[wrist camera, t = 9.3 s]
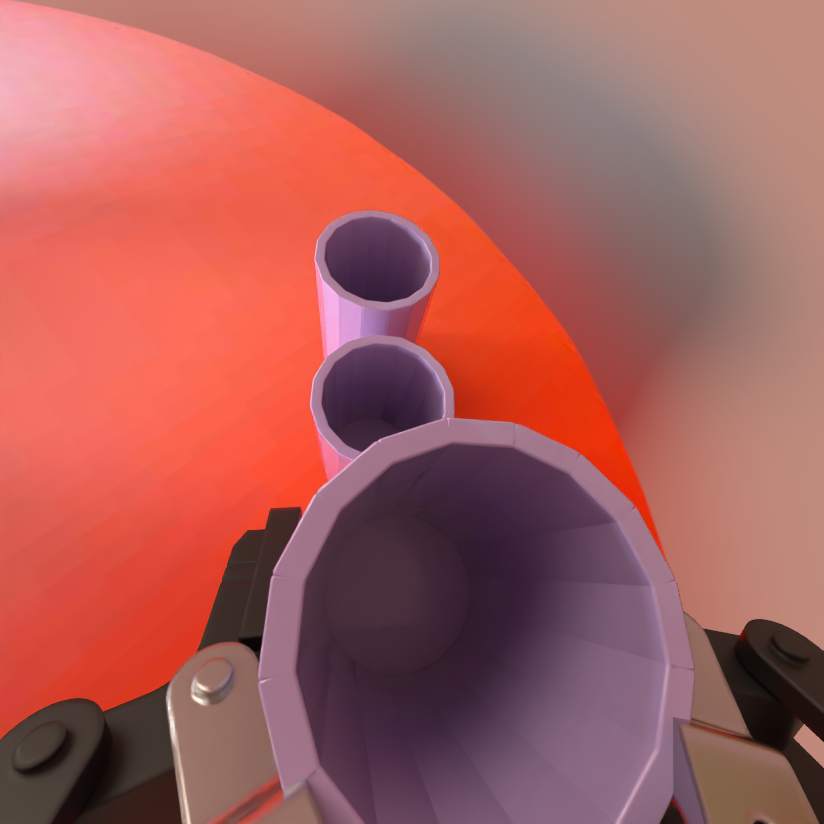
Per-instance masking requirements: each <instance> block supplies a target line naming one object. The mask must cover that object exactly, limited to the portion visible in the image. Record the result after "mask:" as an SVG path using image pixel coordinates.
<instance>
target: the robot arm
mask: <svg viewBox="0 0 824 824" xmlns="http://www.w3.org/2000/svg"><path fill="white" fill-rule="evenodd" d="M301 518H302V510H301V507H289V508H271V509H270V512H269V516H268V520H267V524H266V528H265V530H248V531H247V532H246V533H245V534H244V535H243V536H242V537H241V538H240V539H239V540H238V542H237V543H236V544H235V545H234V546H233V549H232V552H231V555H230V557H229V560H228V563H227V568H226V569H225V572H224V575H223V578H222V583H221V584H220V587H219V590H218V593H217V596H216V599H215V602H214V605H213V608H212V611H211V614H210V617H209V620H208V623H207V626H206V629H205V632H204V634H203V637H202V640H201V643H200V646H199V648H198V650H197V652H196V654H194V655H193V656H191V657H190V658H189V659H188V660H187V661H186V662H185V663H184V664H183V665H182V666H181V667H180V668H179V669H178V671H177V672H176V673H175V675H174V676H173V678H172V680H171V681H169V682H168V683H166V684H165V685H163V686H162V687H160V688H158V689H156V690H154V691H152V692H150V693H148V694H146V695H143V696H141V697H138V698H136V699H133V700H131V701H128V702H126V703H124V704H121V705H119V706H116V707H114V708H111V709H109V710H106V711H104V712H102V709H101V708H100V707H99V705H98V704H96V703H95V702H94V701H91V700H88V699H82V698H76V699H68V700H64V701H60V702H57V703H54V704H51V705H49V706H47V707H45V708H43V709H41V710H39V711H37V712H35V713H34V714H32V715H30V716H29V717H27V718H26V719H25V720H23V721H22V722H20V723H19V724H18V725H16V726H15V727H14V728H13V729H12V730H10V731H9V732H8V733H7V734H6V735H5V736H4V737H3V738H2V739H1V740H0V824H323V821H322V818H321V816H320V813H319V810H318V807H317V805H316V802H315V799H314V797H313V794H312V792H311V789H310V787H309V784H308V782H307V780H306V778H305V779H302V780H300V781H298V782H296V783H294V784H292V785H290V786H288V787H286V788H283V789H282V787H281V784H280V779H279V775H278V771H277V766H276V762H275V758H274V753H273V749H272V745H271V741H270V736H269V732H268V728H267V723H266V719H265V715H264V710H263V706H262V702H261V697H260V693H259V689H258V682H259V679H258V676H257V675H258V668H259V660H260V653H261V646H262V638H263V631H264V624H265V616H266V609H267V602H268V594H269V587H270V580H271V577H272V575H274V574H273V570H274V568H275V566H276V564H277V562H278V561H279V559H280V557H281V555H282V553H283V551H284V549H285V547H286V546H287V544H288V542H289V540H290V538H291V536H292V534H293V533H294V531H295V529H296V527H297V525H298V523H299V521H300V520H301ZM683 613H684V617H685V622H686V627H687V632H688V636H689V641H690V646H691V651H692V655H693V660H694V665H695V670H693V671H694V672H695V685H694V695H693V705H692V715H691V720H686V719H681V718H676V717H673V798H672V800H671V802H670V804H669V806H668V808H667V810H666V812H665V814H664V816H663V818H662V820H661V822H660V824H824V768H823V767H822V766H821V765H820V764H819V763H818V762H817V761H816V760H815V759H814V758H813V757H812V756H811V755H810V754H809V753H808V752H807V751H806V750H805V749H804V748H803V747H802V746H801V745H800V744H799V743H798V742H797V741H796V740H795V739H794V738H793V737H794V736H795V735H796V734H797V732H798V731H799V730H800V728H801V727H802V726H803V724H805V725H806V726H807V727H808V728H809V729H810V730H811V731H812V732H814V733H815V734H816V735H817V736H818V737H819V738H820V739H821V740H822V741H823V742H824V651H823V650H821V649H820V648H819V647H818V646H816V645H815V644H814V643H813V642H811V641H810V640H808V639H807V638H806V637H804V636H802V635H801V634H799V633H798V632H796V631H794V630H792V629H790V628H788V627H786V626H784V625H782V624H779V623H776V622H773V621H769V620H763V619H756V620H751V621H749V622H748V623H747V624H746V626H745V628H744V630H743V631H742V633H741V635H740V636H739V635H734V634H729V633H724V632H719V631H713V630H708V629H703V628H701V626H700V625H699V624H698V623H697V622H696V621H695V620H694V619H693V618H692V617H691V616H689V615H688V614H687V613H686V612H684V611H683Z"/></svg>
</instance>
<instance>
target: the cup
mask: <svg viewBox="0 0 824 824" xmlns="http://www.w3.org/2000/svg"><path fill="white" fill-rule="evenodd" d="M315 269H316V280H317V291H318V301H319V312H320V322H321V333H322V343H323V354H324V360H325V359H326V357H327V356H328V355H330V354H331V353H332V352H334V351H335V350H337V349H338V348H339V347H341V346H342V345H344V344H345V343H347V342H349V341H351V340H355V339H359V338H363V337H367V336H371V335H383V336H393V337H400V338H403V339H405V340H408V341H410V342H412V343H414V344H416V345H417V343H418V340H419V336H420V333H421V330H422V327H423V324H424V321H425V318H426V315H427V312H428V309H429V306H430V303H431V300H432V297H433V294H434V291H435V288H436V285H437V281H438V278H439V275H440V266H439V254H438V252H437V250H436V248H435V246H434V244H433V242H432V240H431V238H430V237H429V236H428V235H427V234H426V233H425V232H424V231H422V230H421V229H420V228H419V227H418V226H417V225H416V224H415V223H413V222H411V221H409V220H407V219H405V218H403V217H400V216H398V215H396V214H393V213H388V212H381V211H374V210H366V211H360V212H354V213H348V214H346V215H344V216H342V217H340V218H339V219H337V220H335V221H333V222H331V223H330V224H329V225H328V226H327V227H326V229H325V230H324V231H323V233H322V234H321V235H320V237H319V238H318V240H317V244H316V252H315Z"/></svg>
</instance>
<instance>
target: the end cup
mask: <svg viewBox="0 0 824 824" xmlns="http://www.w3.org/2000/svg"><path fill="white" fill-rule="evenodd" d="M273 574H274V575H272V577H271V580H270V587H269V594H268V602H267V609H266V616H265V624H264V631H263V638H262V646H261V653H260V660H259V668H258V675H257V676H258V679H259V682H258V689H259V693H260V697H261V702H262V706H263V710H264V715H265V719H266V723H267V728H268V732H269V736H270V741H271V745H272V749H273V753H274V758H275V762H276V766H277V771H278V775H279V779H280V784H281V787H282V789H283V788H286V787H288V786H290V785H292V784H294V783H296V782H298V781H300V780H302V779H305V778H306V780H307V782H308V784H309V787H310V789H311V792H312V794H313V797H314V799H315V802H316V805H317V807H318V810H319V813H320V816H321V818H322V821H323V824H660V822H661V820H662V818H663V816H664V814H665V812H666V810H667V808H668V806H669V804H670V802H671V800H672V798H673V717H676V718H681V719H686V720H691V715H692V705H693V695H694V685H695V672H694V671H693V670H695V665H694V660H693V655H692V651H691V646H690V641H689V636H688V632H687V627H686V622H685V617H684V613H683V608H682V603H681V599H680V594H679V589H678V584H677V583H676V582H675V581H674V580H675V577H674V575H673V573H672V571H671V569H670V567H669V566H668V564H667V562H666V560H665V558H664V556H663V555H662V553H661V551H660V549H659V547H658V545H657V544H656V542H655V540H654V538H653V536H652V534H651V533H650V531H649V529H648V527H647V525H646V524H645V522H644V520H643V518H642V516H641V514H640V513H639V511H638V509H637V508H634V504H633V503H632V502H631V501H630V500H629V499H628V498H627V497H626V496H625V495H624V494H623V493H622V492H621V491H620V490H619V489H618V488H617V487H615V486H614V485H613V484H612V483H611V482H610V481H609V480H608V479H607V478H606V477H605V476H604V475H603V474H602V473H601V472H600V471H599V470H598V469H597V468H596V467H595V466H594V465H593V464H592V463H591V462H590V461H589V460H588V459H586V458H585V457H584V456H583V455H582V454H579V452H578V451H575V450H573V449H571V448H569V447H567V446H565V445H563V444H561V443H558V442H556V441H554V440H552V439H550V438H548V437H546V436H544V435H541V434H539V433H537V432H535V431H533V430H531V429H529V428H527V427H524V426H522V425H520V424H515V423H513V422H501V421H488V420H475V419H462V418H447V419H446V418H442V419H439V420H436V421H433V422H430V423H427V424H424V425H421V426H417V427H414V428H411V429H408V430H405V431H402V432H399V433H396V434H393V435H390V436H387V437H384V438H380V439H379V440H378V441H376V442H374V443H372V444H371V445H370V446H369V447H368V448H367V449H365V450H364V451H363V452H362V453H361V454H360V455H358V456H357V457H356V458H355V459H354V460H352V461H351V462H350V463H349V464H348V465H347V466H345V467H344V468H343V469H342V470H341V471H339V472H338V473H337V474H336V475H335V476H334V477H332V478H331V479H330V480H329V481H328V482H327V483H325V484H324V485H323V486H322V487H321V488H319V489H318V491H317V493H316V494H314V495H313V497H312V499H311V501H310V503H309V505H308V507H307V508H306V510H305V512H304V514H303V516H302V518H301V520H300V521H299V523H298V525H297V527H296V529H295V531H294V533H293V534H292V536H291V538H290V540H289V542H288V544H287V546H286V547H285V549H284V551H283V553H282V555H281V557H280V559H279V561H278V562H277V564H276V566H275V568H274V570H273Z"/></svg>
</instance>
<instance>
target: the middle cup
mask: <svg viewBox="0 0 824 824" xmlns="http://www.w3.org/2000/svg"><path fill="white" fill-rule="evenodd" d="M453 390H454V389H453V387H452V385H451V383H450V380H449V378H448V376H447V374H446V371H445V369H444V367H443V366H442V365H441V364H440V363H439V362H438V361H437V360H436V359H435V358H434V357H433V356H432V355H431V354H430V353H429V352H428V351H427V350H426V349H424V348H423V347H421V346H418V345H416V344H414V343H412V342H410V341H408V340H405V339H403V338H400V337H393V336H383V335H371V336H367V337H363V338H359V339H355V340H351V341H349V342H347V343H345V344H344V345H342V346H341V347H339V348H338V349H337V350H335V351H334V352H332V353H331V354H330V355H328V356H327V357H326V359H325V360H324V362H323V363H322V365H321V367H320V368H319V370H318V372H317V373H316V375H315V376H314V379H313V383H312V392H311V400H310V408H311V413H312V418H313V423H314V427H315V432H316V437H317V442H318V447H319V451H320V456H321V461H322V465H323V468H324V471H325V475H326V477H327V480H328V481H329V480H330V479H331V478H332V477H334V476H335V475H336V474H337V473H338V472H339V471H341V470H342V469H343V468H344V467H345V466H347V465H348V464H349V463H350V462H351V461H352V460H354V459H355V458H356V457H357V456H358V455H360V454H361V453H362V452H363V451H364V450H365V449H367V448H368V447H369V446H370V445H371V444H372V443H374V442H376V441H378V440H379V439H380V438H384V437H387V436H390V435H393V434H396V433H399V432H402V431H405V430H408V429H411V428H414V427H417V426H421V425H424V424H427V423H430V422H433V421H436V420H439V419H442V418H446V419H447V418H454V415H455V406H454V391H453Z"/></svg>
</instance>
